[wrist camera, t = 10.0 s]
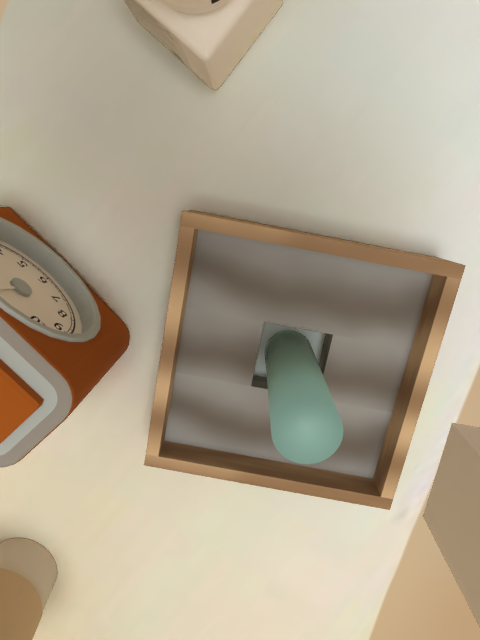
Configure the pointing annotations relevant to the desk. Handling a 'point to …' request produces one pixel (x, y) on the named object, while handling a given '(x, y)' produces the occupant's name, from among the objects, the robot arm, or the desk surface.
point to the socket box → (335, 363)
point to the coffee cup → (23, 586)
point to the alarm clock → (46, 339)
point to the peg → (300, 401)
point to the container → (206, 31)
